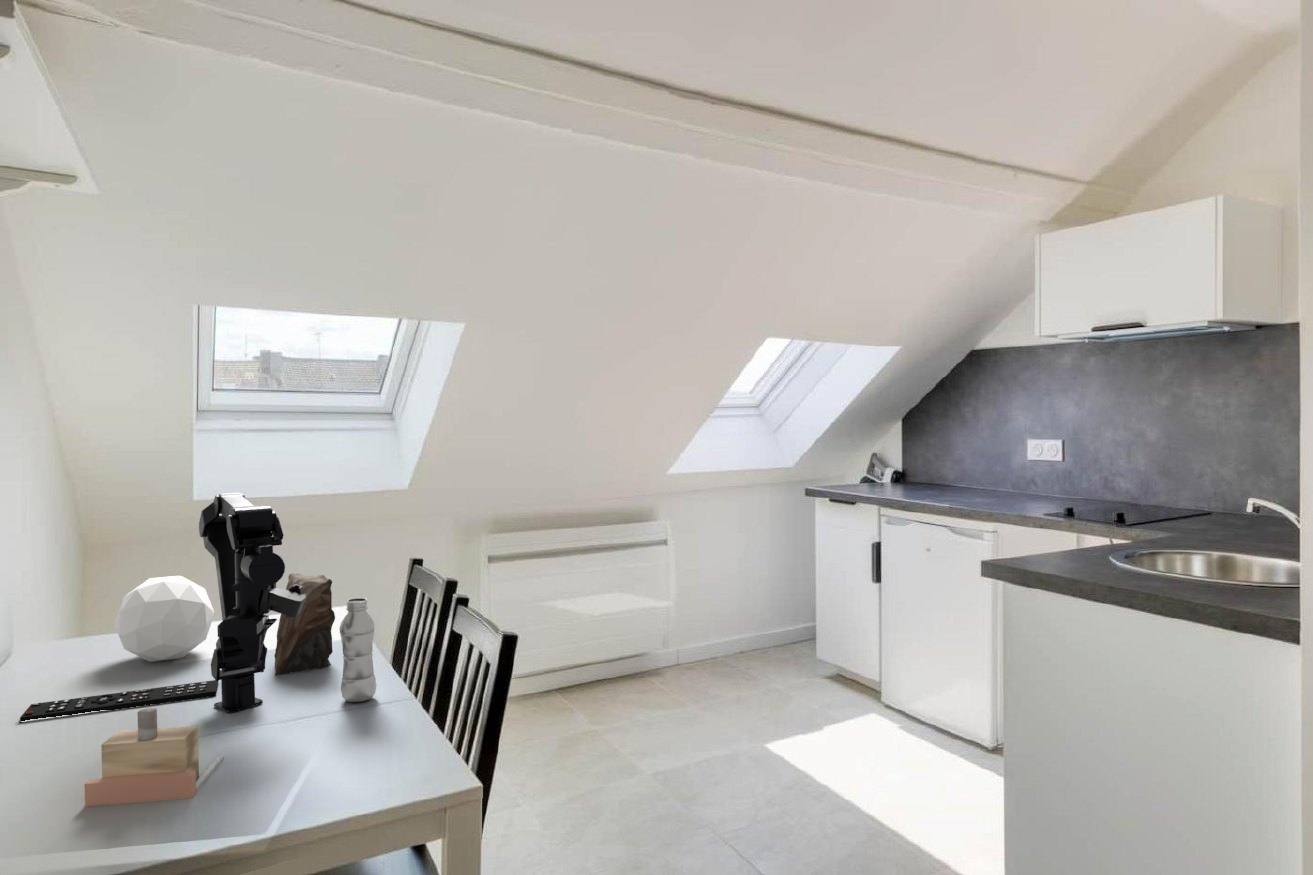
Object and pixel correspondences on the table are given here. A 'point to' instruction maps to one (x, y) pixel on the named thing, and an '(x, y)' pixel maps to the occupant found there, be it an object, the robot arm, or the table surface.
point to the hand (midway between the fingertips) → (255, 662)
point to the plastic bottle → (357, 652)
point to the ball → (164, 618)
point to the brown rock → (306, 628)
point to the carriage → (150, 749)
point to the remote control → (121, 700)
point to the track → (145, 787)
